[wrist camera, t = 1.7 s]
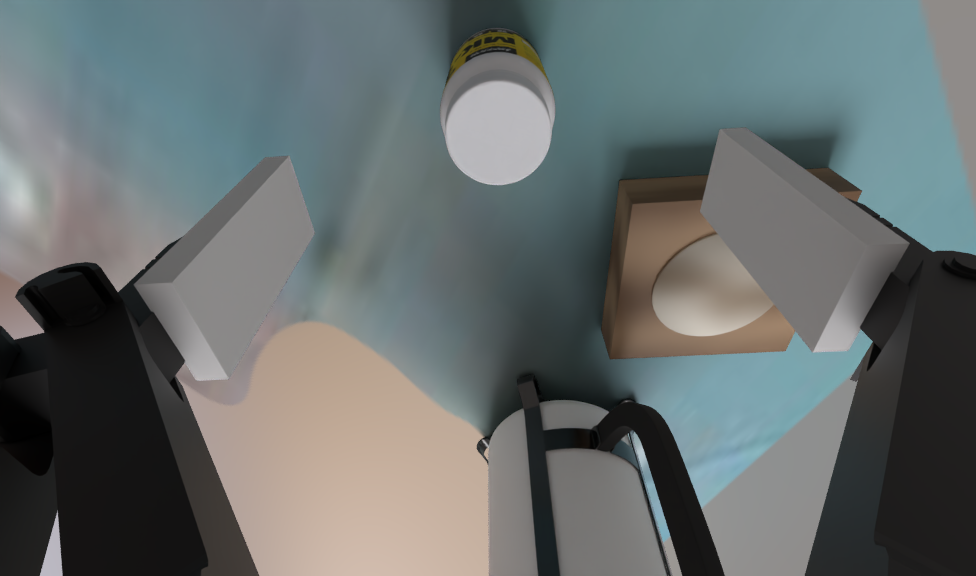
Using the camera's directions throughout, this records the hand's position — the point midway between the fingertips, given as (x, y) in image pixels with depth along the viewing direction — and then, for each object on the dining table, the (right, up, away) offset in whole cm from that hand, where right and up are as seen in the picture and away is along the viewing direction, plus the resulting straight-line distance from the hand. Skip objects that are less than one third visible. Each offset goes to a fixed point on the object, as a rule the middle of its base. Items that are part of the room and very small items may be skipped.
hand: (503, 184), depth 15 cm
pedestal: (+14, -1, +16) cm, 21 cm away
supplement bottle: (0, +8, +9) cm, 12 cm away
